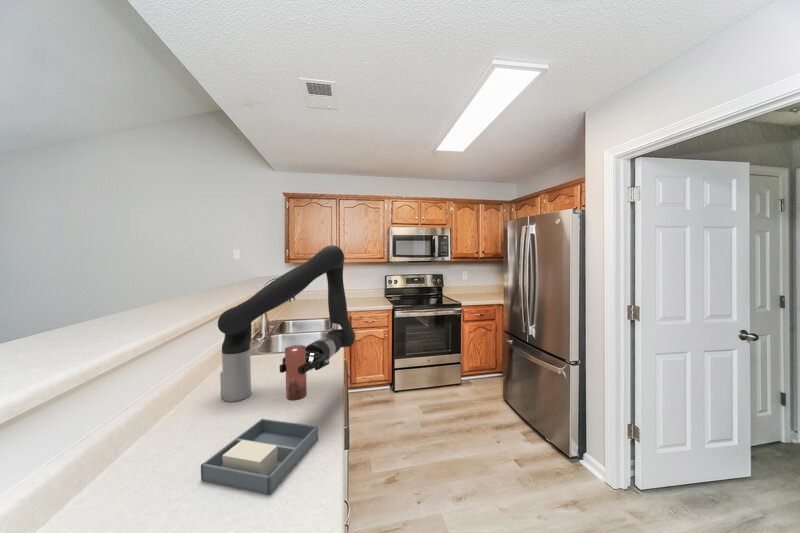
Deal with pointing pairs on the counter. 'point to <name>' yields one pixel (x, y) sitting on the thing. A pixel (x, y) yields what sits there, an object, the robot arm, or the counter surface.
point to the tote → (285, 435)
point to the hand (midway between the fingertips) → (290, 370)
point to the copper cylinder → (295, 372)
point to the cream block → (252, 457)
